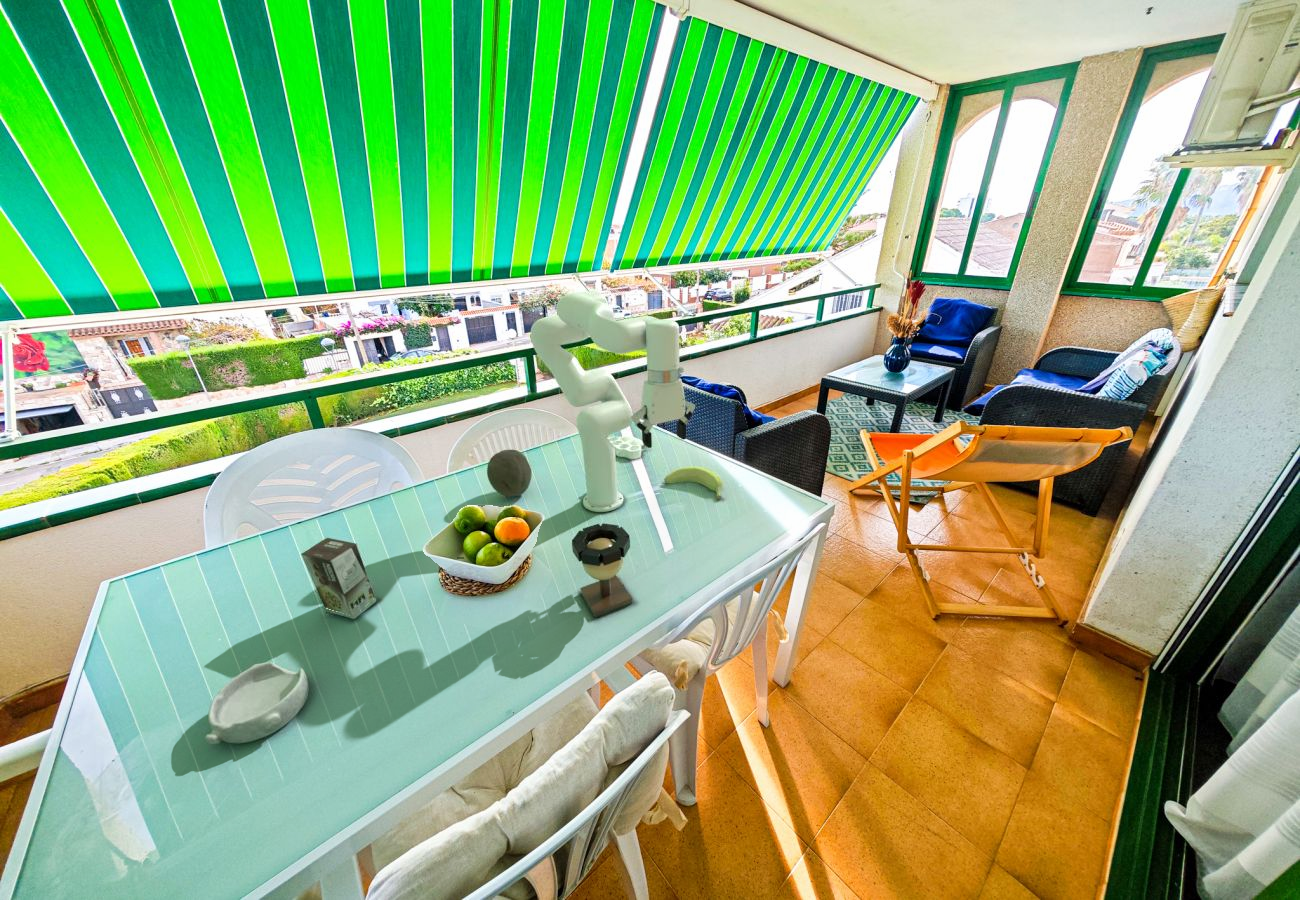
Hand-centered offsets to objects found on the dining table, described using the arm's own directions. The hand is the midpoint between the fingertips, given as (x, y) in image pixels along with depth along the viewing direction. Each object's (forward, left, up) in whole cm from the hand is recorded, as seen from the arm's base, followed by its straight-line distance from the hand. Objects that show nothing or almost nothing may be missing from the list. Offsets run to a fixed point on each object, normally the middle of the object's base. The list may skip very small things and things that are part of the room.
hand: (664, 441), depth 114 cm
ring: (+14, -24, -14) cm, 31 cm away
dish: (+10, -88, -28) cm, 93 cm away
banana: (-18, +22, -29) cm, 40 cm away
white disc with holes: (-58, +15, -28) cm, 66 cm away
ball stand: (+14, -24, -28) cm, 40 cm away
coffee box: (-13, -76, -28) cm, 82 cm away
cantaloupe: (-46, -32, -28) cm, 63 cm away
